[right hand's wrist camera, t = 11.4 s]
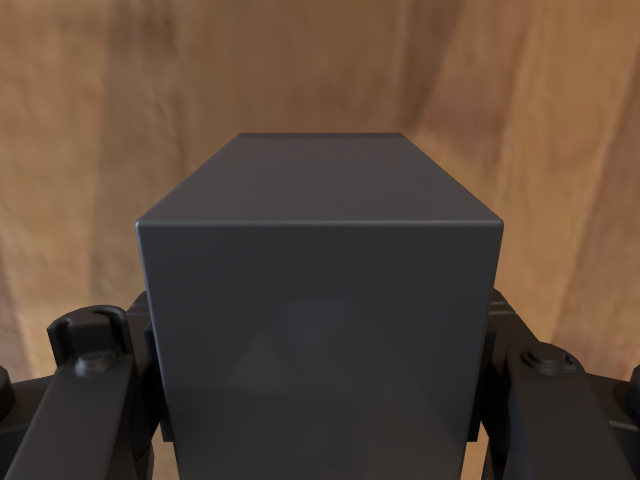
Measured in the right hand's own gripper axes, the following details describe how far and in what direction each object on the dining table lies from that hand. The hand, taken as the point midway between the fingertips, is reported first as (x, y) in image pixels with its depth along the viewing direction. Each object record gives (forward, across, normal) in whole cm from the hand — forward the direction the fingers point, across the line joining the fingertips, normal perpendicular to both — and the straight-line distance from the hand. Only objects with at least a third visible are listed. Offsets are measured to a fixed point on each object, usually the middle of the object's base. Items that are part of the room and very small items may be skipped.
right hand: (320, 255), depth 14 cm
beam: (0, 0, -14) cm, 14 cm away
